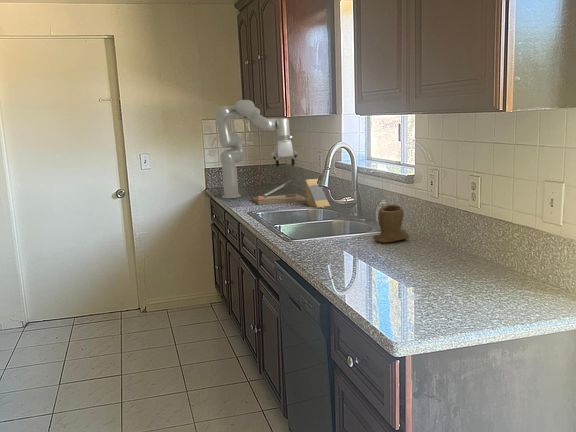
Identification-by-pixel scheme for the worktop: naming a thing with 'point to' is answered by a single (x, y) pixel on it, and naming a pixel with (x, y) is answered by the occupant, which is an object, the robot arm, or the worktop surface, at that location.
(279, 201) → the walnut cutting board
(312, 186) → the sandwich container
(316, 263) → the worktop surface
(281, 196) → the tongs lower arm
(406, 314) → the worktop surface
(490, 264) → the worktop surface
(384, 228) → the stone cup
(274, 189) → the upper tong arm
